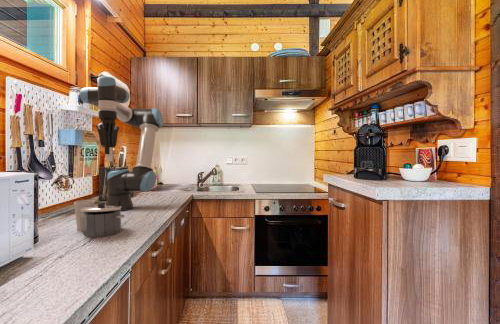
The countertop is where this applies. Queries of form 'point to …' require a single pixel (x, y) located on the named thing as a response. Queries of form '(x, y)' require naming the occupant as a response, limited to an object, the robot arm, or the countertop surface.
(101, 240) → the countertop surface
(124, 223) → the countertop surface
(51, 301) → the countertop surface
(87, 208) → the lid
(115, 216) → the pot
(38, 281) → the countertop surface
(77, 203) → the cup
